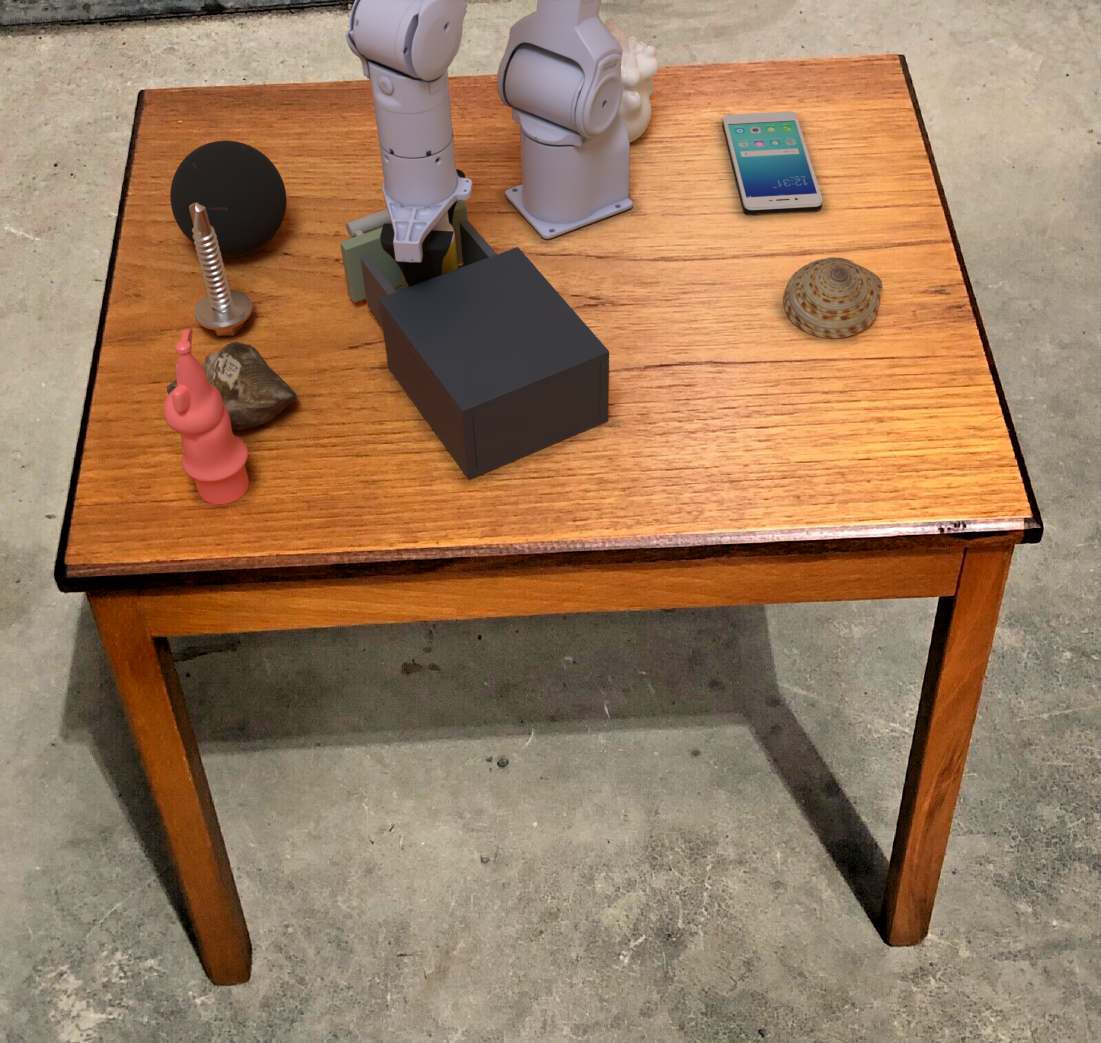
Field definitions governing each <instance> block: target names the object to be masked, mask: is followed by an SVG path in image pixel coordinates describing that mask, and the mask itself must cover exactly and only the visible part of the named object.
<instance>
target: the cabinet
mask: <svg viewBox="0 0 1101 1043" xmlns="http://www.w3.org/2000/svg"><path fill="white" fill-rule="evenodd" d="M379 306H380V313H381V320H382V325H381V327H382V333H383V339H384V347H385V353H386V361H387V368H388V370H389V371H390V372H391V374H392V375H393V377H394V378H395V379H396V381H397V382H398V384H399V385H400V387H401V388H402V389H403V390H404V392H405V394H406V395H407V396H408V398H409V399H410V400H411V402H412V403H413V405H414V406H415V407H416V409H417V410H418V412H419V413H420V415H421V416H422V417H423V419H424V420H425V421H426V423H427V424H428V426H429V427H430V428H431V430H432V432H434V434H435V436H436V437H437V438H438V439H439V441H440V442H441V443H442V445H443V446H444V448H445V449H446V451H447V453H449V455H450V457H451V458H452V459H453V461H454V462H455V463H456V465H457V466H458V468H459V469H460V470H461V472H462V473H463V475H464V476H465V477H466V478H467V480H468V481H470V480H474V479H475V478H477V477H480V476H483V475H484V474H487V473H489V472H491V471H494V470H496V469H498V468H501V467H504V466H506V465H508V464H510V463H513V462H515V461H518V460H520V459H523V458H525V457H527V456H529V455H532V454H535V453H536V452H539V451H542V450H544V449H546V448H548V447H550V446H553V445H556V444H558V443H561V442H562V441H565V440H568V439H569V438H572V437H575V436H576V435H579V434H581V433H583V432H586V431H589V430H591V429H593V428H595V427H597V426H601V425H603V424H605V423H607V422H609V403H610V402H609V401H610V400H609V399H610V397H609V396H610V395H609V394H610V393H609V392H610V391H609V390H610V350H609V349H608V347H606V346H605V345H604V343H603V342H602V341H601V340H600V338H598V337H597V335H596V334H595V333H594V332H593V331H592V329H590V327H589V326H588V325H587V324H586V323H585V321H583V320H582V318H581V317H580V316H579V315H578V314H577V313H576V312H575V310H574V309H573V308H572V307H571V305H570V304H569V303H568V302H567V301H566V300H565V299H564V298H563V297H562V295H561V294H560V293H559V292H558V291H557V290H556V289H555V287H554V286H553V285H552V284H551V283H550V281H548V279H547V278H546V277H545V276H544V275H543V274H542V273H541V271H539V270H538V268H537V267H536V266H535V265H534V263H533V262H532V261H531V260H530V259H529V258H528V257H527V255H525V253H524V252H523V251H522V250H521V249H520V247H518V246H515V247H512V248H511V249H507V250H505V251H502V252H499V253H497V255H494V256H491V257H489V258H486V259H483V260H481V261H478V262H475V263H472V264H470V265H467V266H464V267H462V268H459V269H456V270H454V271H451V272H448V273H446V274H443V275H440V276H437V277H435V278H432V279H429V280H427V281H424V282H421V283H419V284H416V285H413V286H411V287H408V288H405V289H402V290H400V291H397V292H394V293H392V294H389V295H386V296H384V297H381V298H379Z"/></svg>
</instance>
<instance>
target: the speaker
mask: <svg viewBox="0 0 1101 1043" xmlns="http://www.w3.org/2000/svg"><path fill="white" fill-rule="evenodd" d="M169 198H170V199H169V200H170V206H171V212H172V215H173V217H174V220H175V222H176V224H177V226H178V228H179V230H180V232H182V234H183V235H184V236H185V237H186V238H187V239H188V240H189V241H190V242H191V243H192V244H194V241H195V240H194V239H193V234H194V233H193V232H192V229H193V227H194V225H193V222H192V218H191V214H190V210H189V206H190V205H191V204H193V203H197V202H198V203H199V204H200V205H202V206H204V207H205V208H206V212H207V216H208V220H209V223H210V226H212V227H213V228H214V232H215V234H216V236H217V238H216V239H217V240H218V245H219V248H220V249H219V251H220V252H221V257H227V258H235V257H243V256H247V255H250V254H253V253H255V252H258V251H259V250H261V249H263V248H264V247H265V246H266V245H268V244H269V243H270V242H271V241H272V240H273V239H274V238H275V237H276V235H277V234H278V232H279V231H280V229H281V227H282V224H283V222H284V219H285V216H286V211H287V191H286V187H285V183H284V180H283V178H282V175H281V174H280V172H279V169H278V168H277V166H275V164H274V163H273V162H272V161H271V160H270V158H268V156H267V155H266V154H264V153H263V152H261V151H260V150H258V149H257V148H255V147H253V146H252V145H250V144H247V143H244V142H240V141H236V140H215V141H212V142H208V143H205V144H203V145H200V146H198V147H197V148H195V149H194V150H192V151H191V152H189V154H187V155H186V156H185V158H184V159H182V161H181V162H180V164H178V167H177V168H176V170H175V172H174V175H173V177H172V180H171V185H170V193H169Z"/></svg>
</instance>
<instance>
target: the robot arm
mask: <svg viewBox="0 0 1101 1043" xmlns="http://www.w3.org/2000/svg"><path fill="white" fill-rule="evenodd" d="M601 2H602V0H537V3H536V8H535V9H536V10H535V11H533V12H531V13H529V14H527V15H524V16H523V17H522V18H520V19H518V20H517V21H516V22H514V23H513V24H512V25H511V27H510V28H509V33H508V40H507V44H506V47H505V51H504V54H503V55H502V58H501V59H500V62H499V65H498V69H497V75H496V87H497V94H498V97H499V99H500V101H501V103H502V105H504V106H506V107H509V108H511V117H512V118H511V119H512V121H513V122H516V123H517V124H518V125H519V142H520V145H519V146H520V167H521V169H520V170H521V184H518V185H516V186H513V187H510V188H507V189H506V190H505V191H504V196H505V197H506V199H507V200H508V201H509V202H510V203H511V204H512V206H513V207H514V208H515V209H516V210H517V211H518V212H519V213H520V214H521V216H522V217H523V218H524V219H525V220H526V221H527V222H528V223H529V225H531V226H532V227H533V229H534V230H535V231H536V232H537V233H538V234H539V235H540V237H542V239H545V240H550V239H552V238H555V237H559V236H561V235H563V234H566V233H569V232H571V231H574V230H577V229H580V228H582V227H585V226H588V225H590V224H593V223H595V222H598V221H602V220H604V219H606V218H609V217H611V216H615V215H617V214H619V213H620V214H621V213H622V212H625V211H629V210H631V209H632V208H634V207H633V206H634V202H633V200H632V199H630V198H629V196H630V162H631V161H630V158H631V155H630V154H631V144H630V143H631V142H629V137H628V132H627V129H626V126H625V123H624V121H623V119H622V117H621V115H620V113H619V112H618V110H619V108H620V104H621V100H622V94H623V85H622V79H621V61H622V53H623V50H622V48H621V46H620V44H619V43H618V42H617V40H616V39H615V38H614V36H613V35H612V34H611V33H610V31H609V30H608V29H607V27H606V26H605V22H603V21H602V19H601V18H600V9H601ZM467 8H468V3H467V2H466V1H465V0H354V2H353V4H352V7H351V10H350V14H349V22H348V23H349V24H348V25H349V27H348V30H347V32H346V33H345V38H346V42H347V45H348V47H349V49H350V51H351V52H352V53H353V54H354V55H355V56H356V57H357V58H359V59H360V62H361V65H362V72H363V73H362V74H363V76H364V77H366V78H367V79H368V81H369V82H370V87H371V94H372V101H373V108H374V109H373V110H374V115H375V122H376V123H375V124H376V132H377V139H378V146H379V153H380V154H379V155H380V161H381V170H382V176H383V182H382V188H381V189H382V195H383V199H384V203H385V206H386V209H387V210H388V213H389V217H390V220H391V223H392V224H385V223H384V224H383V227H382V231H381V235H380V241H381V245H382V248H383V250H384V251H385V252H387V253H388V254H389V255H390V256H391V257H392V258H393V259H394V261H395V262H396V263H397V264H398V266H399V268H400V269H401V271H402V273H403V275H404V277H405V280H406V282H407V284H408V287H411V286H413V285H416V284H419V283H421V282H424V281H427V280H429V279H432V278H435V277H437V276H440V275H442V264H443V259H444V257H445V255H446V254H447V252H448V250H449V247H450V245H451V241H452V237H453V232H454V231H437V230H432V229H433V228H434V226H435V225H436V224H437V223H438V222H439V220H440V219H441V218H442V217H443V216H444V214H445V213H446V212H448V219H449V223H450V224H451V226H452V222H453V214H454V209H455V206H456V204H457V201H458V200H462V201H468V200H470V199H471V197H472V194H473V193H472V192H473V189H474V187H473V180H472V179H470V178H468V177H466V174H465V172H464V171H463V170H461V169H459V168H457V166H456V165H457V164H456V155H455V154H456V153H455V152H456V151H455V140H454V131H453V130H454V129H453V120H452V107H451V106H452V105H451V96H450V94H451V93H450V84H449V71H448V69H449V67H450V66H451V65H452V63H453V61H454V59H455V58H456V57H457V54H458V53H459V50H460V46H461V44H462V37H463V26H464V20H465V17H466V14H467V12H468V11H467Z"/></svg>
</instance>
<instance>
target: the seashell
mask: <svg viewBox="0 0 1101 1043" xmlns="http://www.w3.org/2000/svg"><path fill="white" fill-rule="evenodd" d="M882 291H883V281H882V280H881V278H880V277H879V276H878V275H877V274H875V272H873V271H871V270H870V269H868V268H866V267H865V266H862V265H860V264H858V263H855V262H854V261H853V260H850V259H848V258H844V257H834V256H833V257H826V258H821V259H817V260H814V261H810V262H809V263H807V264H805V265H803V266H802V267H800V268H799V269H798V270H797V271H795V272H794V273H793V274H792V275H791V276H790V278H789V279H788V281H787V284H786V286H785V288H784V291H783V295H782V303H783V309H784V313H785V314H786V315H787V317H788V319H789V320H790V322H792V324H794V325H795V326H796V327H797V328H798V329H800V330H801V331H803V332H805V333H807V334H809V335H812V336H815V337H819V338H824V339H842V338H846V337H850V336H852V335H855V334H858V333H860V332H863V330H865V329H867V328H868V327H869V326H870V325H871V324H872V323H873V322H874V321H875V319H876V317H877V315H878V312H879V308H880V304H881V293H882Z"/></svg>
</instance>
